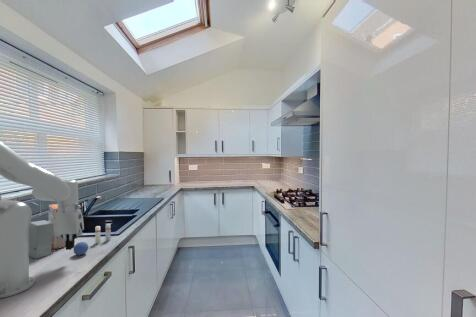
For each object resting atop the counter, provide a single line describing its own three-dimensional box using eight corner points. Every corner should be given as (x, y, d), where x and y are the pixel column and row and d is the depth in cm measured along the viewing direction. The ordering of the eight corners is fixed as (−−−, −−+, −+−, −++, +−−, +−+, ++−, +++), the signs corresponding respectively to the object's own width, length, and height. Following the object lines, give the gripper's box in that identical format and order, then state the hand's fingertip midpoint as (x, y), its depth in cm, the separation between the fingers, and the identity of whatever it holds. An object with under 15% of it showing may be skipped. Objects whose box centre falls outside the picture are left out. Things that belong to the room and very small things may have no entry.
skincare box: (26, 255, 113) (26, 222, 113) (44, 250, 120) (44, 219, 119) (35, 259, 109) (35, 225, 109) (53, 254, 116) (53, 221, 115)
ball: (83, 257, 112) (83, 244, 112) (70, 257, 112) (70, 244, 112) (90, 252, 118) (90, 240, 118) (78, 252, 118) (78, 240, 118)
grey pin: (109, 241, 133) (109, 225, 133) (104, 241, 133) (104, 225, 133) (111, 239, 136) (111, 223, 136) (106, 239, 136) (106, 223, 135)
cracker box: (67, 246, 125) (67, 206, 124) (52, 250, 120) (52, 208, 120) (61, 240, 134) (61, 202, 134) (47, 242, 130) (47, 204, 130)
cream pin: (98, 244, 129) (98, 227, 129) (94, 244, 129) (94, 227, 129) (101, 242, 132) (101, 226, 131) (96, 242, 131) (96, 226, 131)
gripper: (90, 205, 110) (92, 244, 111) (57, 206, 109) (58, 245, 110) (80, 210, 102) (82, 252, 103) (44, 210, 102) (46, 252, 103)
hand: (70, 248), depth 107 cm, fingers closed
